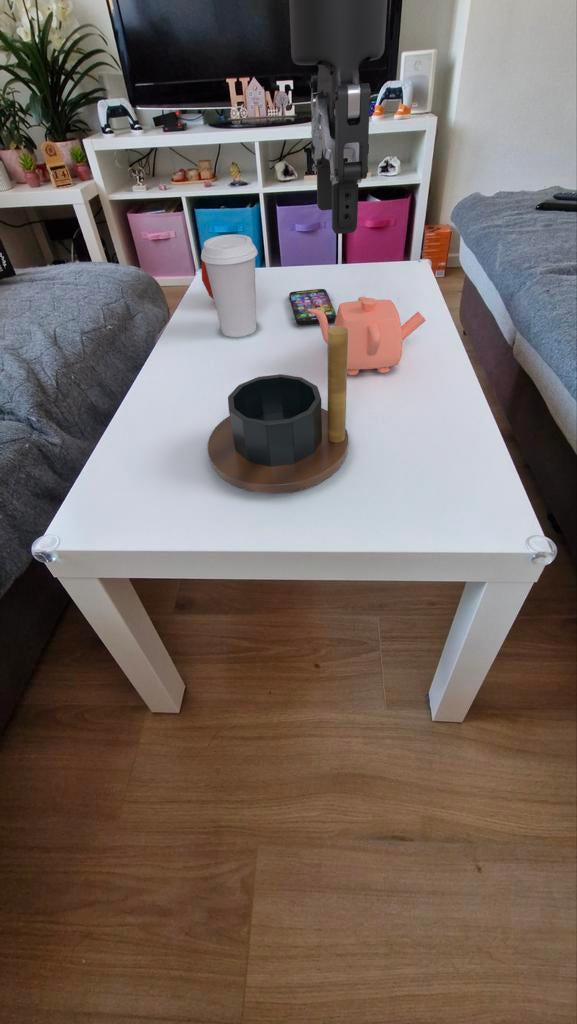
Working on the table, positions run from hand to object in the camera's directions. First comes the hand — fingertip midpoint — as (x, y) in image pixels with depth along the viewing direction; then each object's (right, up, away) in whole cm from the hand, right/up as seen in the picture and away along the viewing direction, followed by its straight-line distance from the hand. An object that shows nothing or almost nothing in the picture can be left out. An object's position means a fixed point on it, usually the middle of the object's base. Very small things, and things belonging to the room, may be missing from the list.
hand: (335, 220), depth 48 cm
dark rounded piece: (-6, -21, +16) cm, 27 cm away
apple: (-17, +15, +54) cm, 59 cm away
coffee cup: (-14, +5, +44) cm, 46 cm away
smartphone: (0, +11, +48) cm, 50 cm away
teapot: (+8, -5, +32) cm, 33 cm away
